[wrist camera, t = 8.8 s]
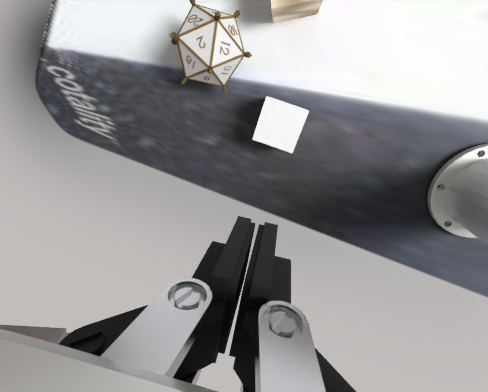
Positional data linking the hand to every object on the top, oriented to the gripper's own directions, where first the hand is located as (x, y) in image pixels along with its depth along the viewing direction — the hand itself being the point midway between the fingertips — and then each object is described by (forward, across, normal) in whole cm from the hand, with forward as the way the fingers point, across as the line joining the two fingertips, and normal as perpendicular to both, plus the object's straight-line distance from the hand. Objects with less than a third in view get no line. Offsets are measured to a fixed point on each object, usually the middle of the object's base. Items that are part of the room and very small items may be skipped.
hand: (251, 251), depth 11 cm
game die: (+26, +10, -10) cm, 29 cm away
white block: (+26, +1, -3) cm, 26 cm away
